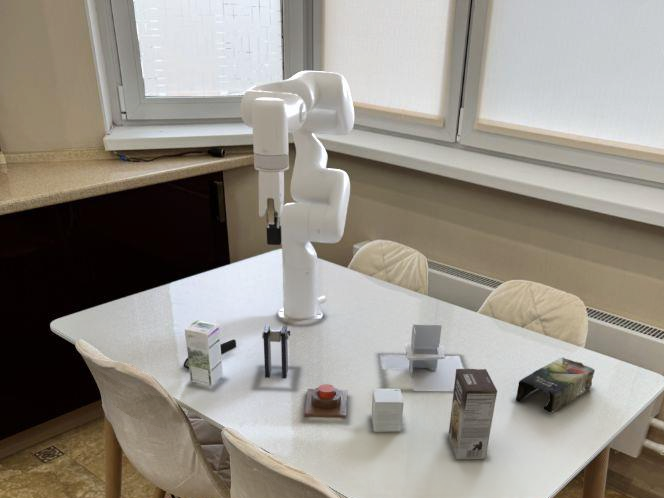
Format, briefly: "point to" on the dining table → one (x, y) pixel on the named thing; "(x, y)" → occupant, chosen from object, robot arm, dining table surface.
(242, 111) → the robot arm
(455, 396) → the coffee box
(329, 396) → the button
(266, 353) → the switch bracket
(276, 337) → the switch lever
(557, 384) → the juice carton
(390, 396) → the product box
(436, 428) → the dining table surface
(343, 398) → the button housing
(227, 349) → the electric trimmer
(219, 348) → the syrup box
